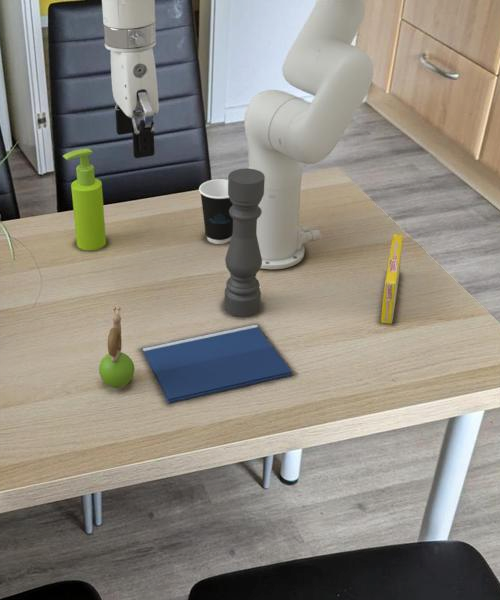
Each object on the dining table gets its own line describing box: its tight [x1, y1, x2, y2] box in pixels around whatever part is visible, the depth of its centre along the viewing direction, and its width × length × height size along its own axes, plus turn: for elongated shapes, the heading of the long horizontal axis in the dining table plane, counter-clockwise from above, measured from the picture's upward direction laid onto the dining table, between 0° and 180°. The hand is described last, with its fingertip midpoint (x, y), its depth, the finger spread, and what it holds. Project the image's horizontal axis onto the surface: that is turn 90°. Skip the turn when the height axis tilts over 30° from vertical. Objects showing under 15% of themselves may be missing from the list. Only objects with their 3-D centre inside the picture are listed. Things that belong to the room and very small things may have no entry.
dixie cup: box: [198, 178, 233, 245], centre depth 162 cm, size 8×8×11 cm
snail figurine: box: [98, 306, 135, 388], centre depth 127 cm, size 5×6×12 cm
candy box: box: [380, 233, 404, 325], centre depth 142 cm, size 16×2×8 cm, turn 161°
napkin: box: [141, 323, 293, 404], centre depth 132 cm, size 20×14×1 cm
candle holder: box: [223, 167, 265, 318], centre depth 138 cm, size 6×6×25 cm
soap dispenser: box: [62, 147, 107, 252], centre depth 161 cm, size 6×7×20 cm
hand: (135, 144), depth 131 cm, fingers open, 9 cm apart
